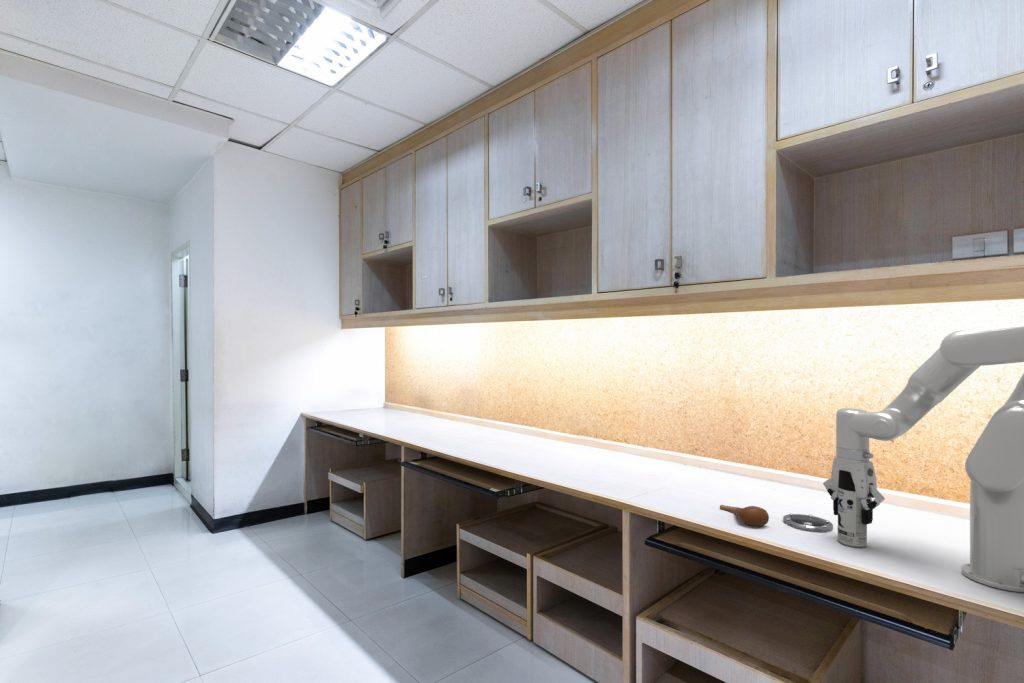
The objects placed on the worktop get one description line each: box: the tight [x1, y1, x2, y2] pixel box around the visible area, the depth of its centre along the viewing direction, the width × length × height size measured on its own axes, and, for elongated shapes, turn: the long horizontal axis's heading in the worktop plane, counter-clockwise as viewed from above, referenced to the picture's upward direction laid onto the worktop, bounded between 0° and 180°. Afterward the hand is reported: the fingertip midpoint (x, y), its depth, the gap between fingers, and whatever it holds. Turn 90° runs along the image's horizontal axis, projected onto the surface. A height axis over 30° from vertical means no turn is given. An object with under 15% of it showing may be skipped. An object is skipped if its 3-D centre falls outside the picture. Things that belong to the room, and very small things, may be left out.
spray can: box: [837, 470, 868, 549], centre depth 139 cm, size 7×7×20 cm
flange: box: [782, 513, 834, 533], centre depth 153 cm, size 13×13×1 cm
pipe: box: [719, 504, 770, 528], centre depth 158 cm, size 8×19×6 cm, turn 17°
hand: (852, 518), depth 139 cm, fingers open, 7 cm apart
